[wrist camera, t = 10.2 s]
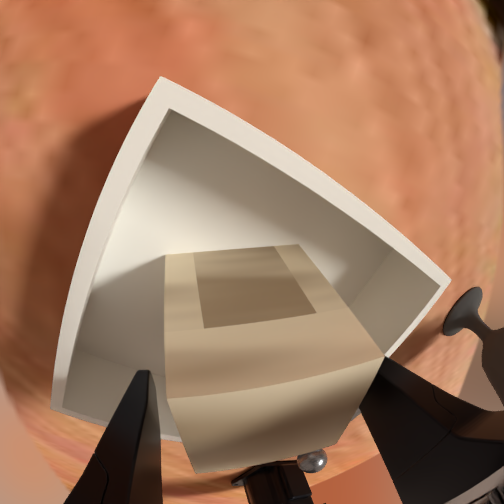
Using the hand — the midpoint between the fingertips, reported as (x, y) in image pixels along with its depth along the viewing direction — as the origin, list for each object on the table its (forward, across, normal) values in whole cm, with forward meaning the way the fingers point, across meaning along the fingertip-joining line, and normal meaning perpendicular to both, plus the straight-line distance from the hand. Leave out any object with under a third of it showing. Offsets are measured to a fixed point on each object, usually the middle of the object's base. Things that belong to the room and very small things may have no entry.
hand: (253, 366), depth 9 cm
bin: (+4, 0, 0) cm, 4 cm away
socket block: (+3, 0, 0) cm, 3 cm away
